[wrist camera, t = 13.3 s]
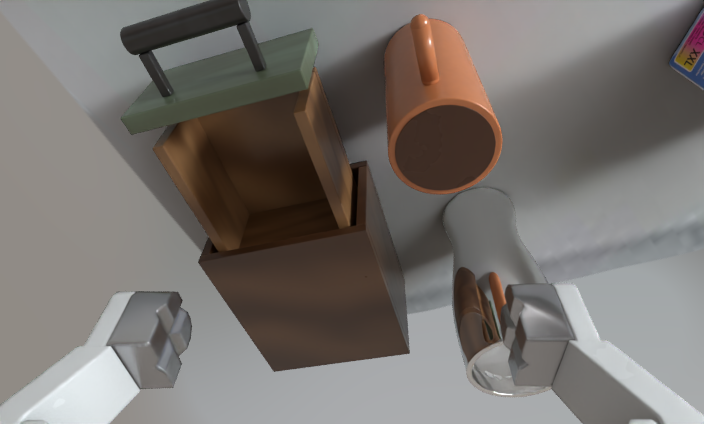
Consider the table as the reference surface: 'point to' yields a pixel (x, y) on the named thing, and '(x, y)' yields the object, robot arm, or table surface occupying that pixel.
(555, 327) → the robot arm
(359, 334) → the cabinet
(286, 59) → the drawer
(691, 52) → the ink cartridge box
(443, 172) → the orange mug
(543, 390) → the beer glass
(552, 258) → the table surface
